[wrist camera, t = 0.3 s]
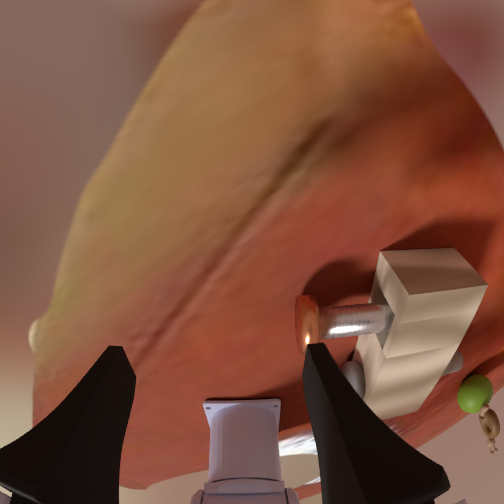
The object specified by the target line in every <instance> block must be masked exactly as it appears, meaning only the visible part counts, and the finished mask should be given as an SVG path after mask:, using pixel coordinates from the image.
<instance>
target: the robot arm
mask: <svg viewBox="0 0 504 504" xmlns="http://www.w3.org/2000/svg"><path fill="white" fill-rule="evenodd" d="M302 377H303V386H304V394H305V400H306V405H307V409H308V413H309V417H310V422H311V426H312V430H313V434H314V438H315V442H316V447H317V453H318V460H319V469H320V479H321V489H322V503H323V504H435V502H434V499H435V498H436V497H438V496H440V495H442V494H443V493H445V492H446V491H448V490H449V488H450V483H449V480H448V477H447V475H446V472H445V471H444V469H443V467H442V466H441V465H439V464H437V463H436V462H433V461H432V460H431V459H429V458H427V457H426V456H424V455H423V454H421V453H420V452H419V451H417V450H416V449H414V448H413V447H412V446H410V445H409V444H408V443H407V442H405V441H404V440H403V439H402V438H401V437H399V436H398V435H397V434H396V433H395V432H393V431H392V430H391V429H390V428H389V427H388V426H387V425H386V424H385V423H384V422H383V421H382V420H381V419H380V418H379V417H378V416H377V415H376V414H375V413H374V412H373V411H372V410H371V409H370V407H369V406H368V405H367V404H366V403H365V402H364V400H363V399H362V398H361V397H360V396H359V394H358V393H357V392H356V390H355V389H354V388H353V386H352V385H351V384H350V382H349V381H348V380H347V378H346V377H345V375H344V374H343V373H342V371H341V370H340V368H339V367H338V365H337V363H336V362H335V360H334V359H333V357H332V355H331V354H330V352H329V350H328V349H327V347H326V345H325V344H324V343H313V344H307V349H306V356H305V362H304V369H303V375H302ZM135 385H136V375H135V373H134V371H133V369H132V367H131V365H130V363H129V360H128V358H127V356H126V354H125V351H124V349H123V347H122V346H108V347H107V349H106V350H105V351H104V352H103V353H102V355H101V356H100V357H99V358H98V360H97V361H96V362H95V363H94V365H93V366H92V367H91V368H90V370H89V371H88V372H87V373H86V375H85V376H84V377H83V378H82V380H81V381H80V382H79V383H78V384H77V386H76V387H75V388H74V389H73V390H72V391H71V392H70V393H69V395H68V396H67V397H66V398H65V399H64V400H63V401H62V402H61V403H60V404H59V405H58V406H57V407H56V408H55V409H54V410H53V411H52V412H51V413H50V414H49V415H48V416H47V417H46V418H45V419H43V420H42V421H41V422H40V423H38V424H37V425H36V426H35V427H33V428H32V429H31V430H30V431H29V432H27V433H25V434H24V435H23V436H21V437H20V438H18V439H17V440H15V441H13V442H12V443H10V444H8V445H6V446H4V447H3V448H1V449H0V486H2V487H3V488H5V489H7V490H8V491H10V492H12V497H10V496H8V495H6V494H4V493H2V492H1V491H0V504H119V472H120V460H121V451H122V445H123V440H124V436H125V432H126V428H127V424H128V420H129V416H130V412H131V408H132V404H133V400H134V393H135ZM203 407H204V410H205V413H206V416H207V420H208V423H209V426H210V429H211V431H210V454H209V482H208V483H205V484H204V490H198V491H197V493H195V494H194V495H193V497H192V499H191V503H190V504H300V502H299V497H298V494H297V492H296V491H294V490H293V489H292V488H290V487H289V488H285V487H284V481H282V478H281V467H280V456H279V445H278V429H279V419H280V408H281V400H280V399H262V400H234V401H204V402H203ZM455 504H467V503H466V500H461V501H459V502H457V503H455Z"/></svg>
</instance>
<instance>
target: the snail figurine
mask: <svg viewBox="0 0 504 504" xmlns="http://www.w3.org/2000/svg"><path fill="white" fill-rule="evenodd" d="M492 394H493V387H492V383H491V381H490V380H489V379H488V378H487V377H486V376H484V375H480V374H477V375H472V376H470V377H468V378H467V379H466V380H465V381H464V382H463V383H462V384H461V386H460V388H459V390H458V394H457V400H458V404H459V406H460V407H461V409H462V410H464V411H465V412H468V413H476V412H479V421H480V424H481V428H482V431H483V435H484V437H485V439H486V441H487V445H488V446H489V448H490V447H492V446H493V445H494V444H495V439H494V438H495V437H496V436H498V434H499V431H500V424H499V420H498V418H497V415H496V413H495V412H494V411H493V410H492V409H489V405H488V403H489V402H490V400H491V397H492ZM494 448H495V447H494ZM497 450H498V449H495V450H494V452H497ZM494 452H493V451H491V452H490V454H491V455H492V454H493V453H494Z"/></svg>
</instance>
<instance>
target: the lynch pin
mask: <svg viewBox="0 0 504 504" xmlns="http://www.w3.org/2000/svg"><path fill="white" fill-rule="evenodd" d="M394 317H395V314H394V312H393V311H392V309H391V307H390V305H389V303H388V301H385V302H376V303H365V304H354V305H343V306H330V307H318V304H317V300H316V298H315V296H314V295H298V296H297V298H296V303H295V331H296V340H297V346H298V350H299V352H300V354H306V349H307V344H313V343H320V339H329V338H339V337H348V336H357V335H365V334H373V333H381V332H388V331H390V328H391V326H392V323H393V320H394Z"/></svg>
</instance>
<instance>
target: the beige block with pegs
mask: <svg viewBox="0 0 504 504" xmlns="http://www.w3.org/2000/svg"><path fill="white" fill-rule="evenodd" d="M487 287H488V284H487V283H486V281H485V280H484V279H483V278H482V277H481V276H480V275H479V274H478V273H477V271H476V270H475V269H474V268H473V267H472V266H471V265H470V264H469V263H468V262H467V261H466V260H465V259H464V258H463V256H462V255H461V254H460V253H459V252H458V251H457V250H456V249H455V248H438V249H417V250H395V251H380V253H379V258H378V263H377V267H376V272H375V276H374V281H373V285H372V289H371V293H370V297H369V301H368V303H376V302H385V301H388V303H389V305H390V307H391V309H392V311H393V312H394V314H395V317H394V320H393V323H392V326H391V328H390V331H388V332H381V333H373V334H365V335H359V338H358V341H357V345H356V348H355V351H354V355H353V358H352V361H349V362H345V363H344V364H343V367H342V373H343V374H344V375H345V377H346V378H347V380H348V381H349V382H350V384H351V385H352V386H353V388H354V389H355V390H356V392H357V393H358V394H359V396H360V397H361V398H362V399H363V400H364V402H365V403H366V404H367V405H368V406H369V407H370V409H371V410H372V411H373V412H374V413H375V414H376V415H377V416H378V417H379V418H380V419H381V420H383V419H388V418H392V417H396V416H400V415H404V414H408V413H412V412H416V411H418V409H419V408H420V406H421V405H422V404H423V402H424V401H425V399H426V398H427V396H428V395H429V393H430V392H431V390H432V389H433V387H434V386H435V384H436V383H437V381H438V380H439V378H440V377H441V376H443V375H446V374H450V373H453V372H456V371H459V370H461V369H462V367H463V356H462V354H461V352H460V351H458V350H457V348H458V346H459V344H460V343H461V341H462V339H463V337H464V335H465V333H466V331H467V329H468V327H469V325H470V323H471V321H472V319H473V317H474V315H475V313H476V311H477V309H478V307H479V305H480V302H481V300H482V298H483V296H484V294H485V291H486V289H487Z"/></svg>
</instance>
